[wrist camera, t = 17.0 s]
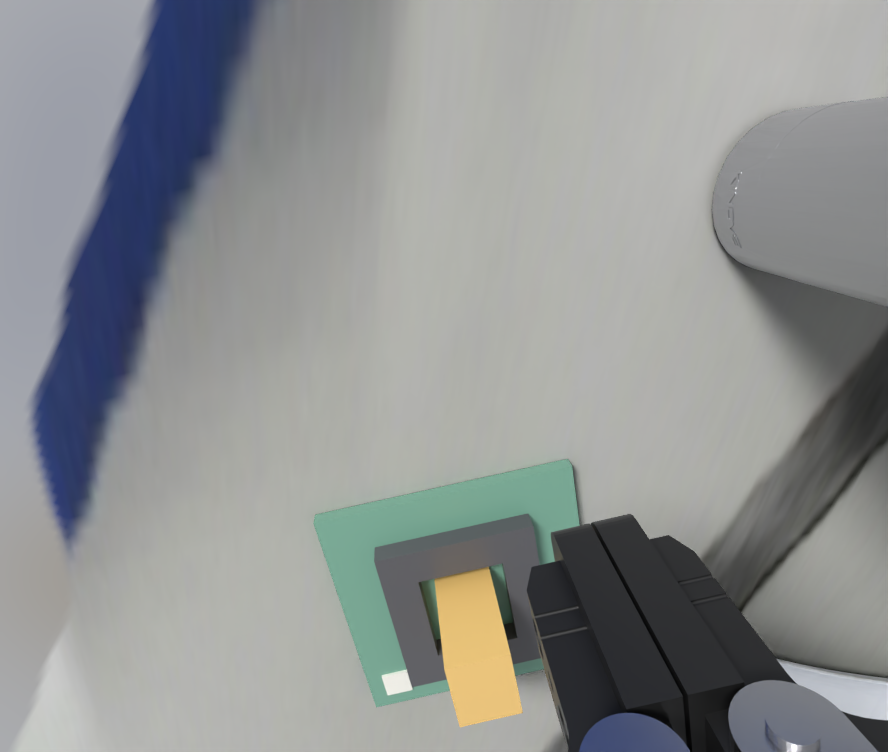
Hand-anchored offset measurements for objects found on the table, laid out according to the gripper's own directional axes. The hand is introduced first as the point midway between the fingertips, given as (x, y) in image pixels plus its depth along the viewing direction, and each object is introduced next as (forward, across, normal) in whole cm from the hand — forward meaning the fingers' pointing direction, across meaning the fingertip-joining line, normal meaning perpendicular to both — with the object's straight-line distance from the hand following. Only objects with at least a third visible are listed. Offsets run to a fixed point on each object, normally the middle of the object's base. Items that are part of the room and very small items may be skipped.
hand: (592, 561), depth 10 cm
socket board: (+25, +4, +22) cm, 34 cm away
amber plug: (+24, +4, +23) cm, 33 cm away
